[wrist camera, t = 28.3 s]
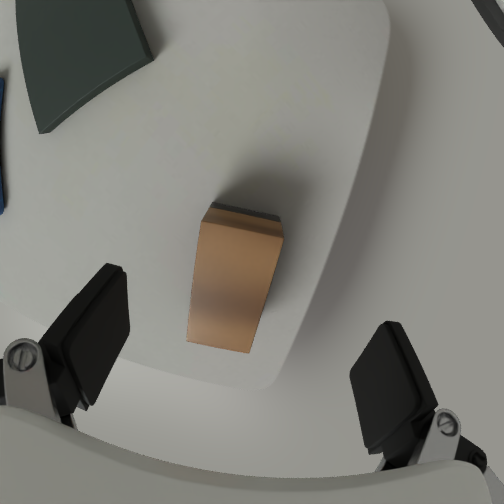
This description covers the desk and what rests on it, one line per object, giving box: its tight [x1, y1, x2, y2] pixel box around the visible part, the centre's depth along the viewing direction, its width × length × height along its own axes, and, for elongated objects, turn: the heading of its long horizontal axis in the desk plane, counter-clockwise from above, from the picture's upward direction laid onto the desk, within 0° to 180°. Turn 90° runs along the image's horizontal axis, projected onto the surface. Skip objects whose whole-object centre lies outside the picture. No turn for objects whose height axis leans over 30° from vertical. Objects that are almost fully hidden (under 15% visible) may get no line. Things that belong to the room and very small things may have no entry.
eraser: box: [186, 202, 284, 353], centre depth 20 cm, size 10×5×4 cm, turn 168°
